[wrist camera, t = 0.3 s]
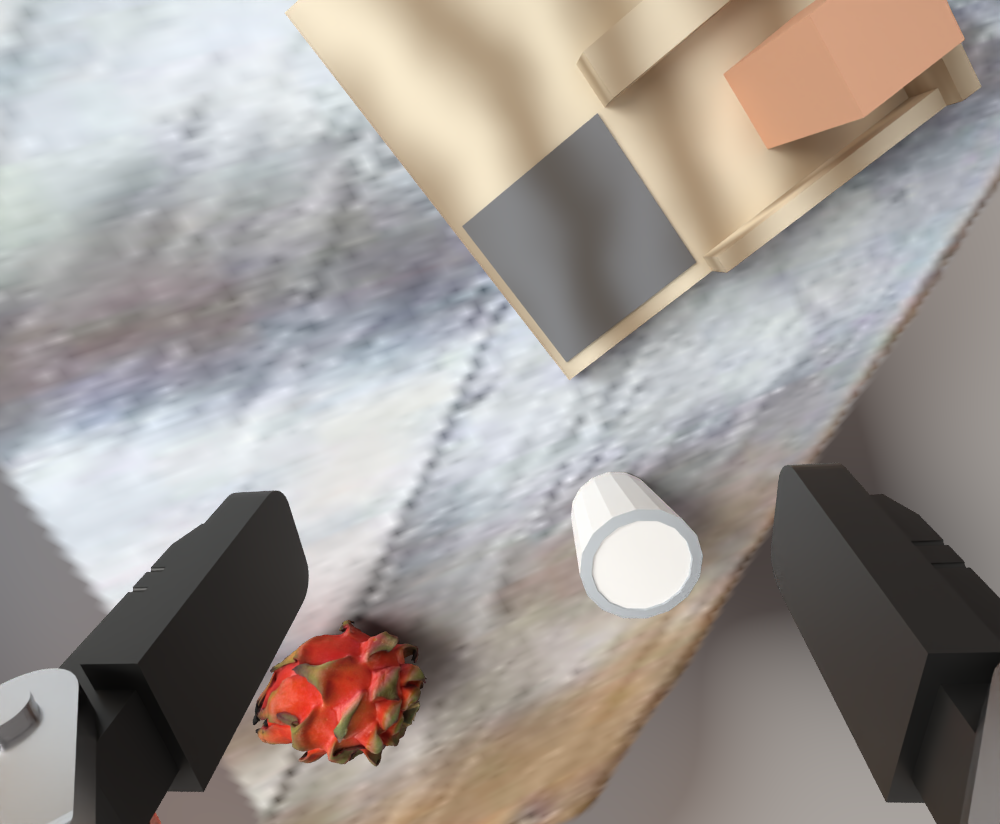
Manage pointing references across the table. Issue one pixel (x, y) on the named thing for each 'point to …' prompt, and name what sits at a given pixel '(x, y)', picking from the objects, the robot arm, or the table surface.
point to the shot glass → (632, 547)
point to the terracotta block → (839, 63)
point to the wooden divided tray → (596, 142)
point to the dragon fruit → (342, 696)
